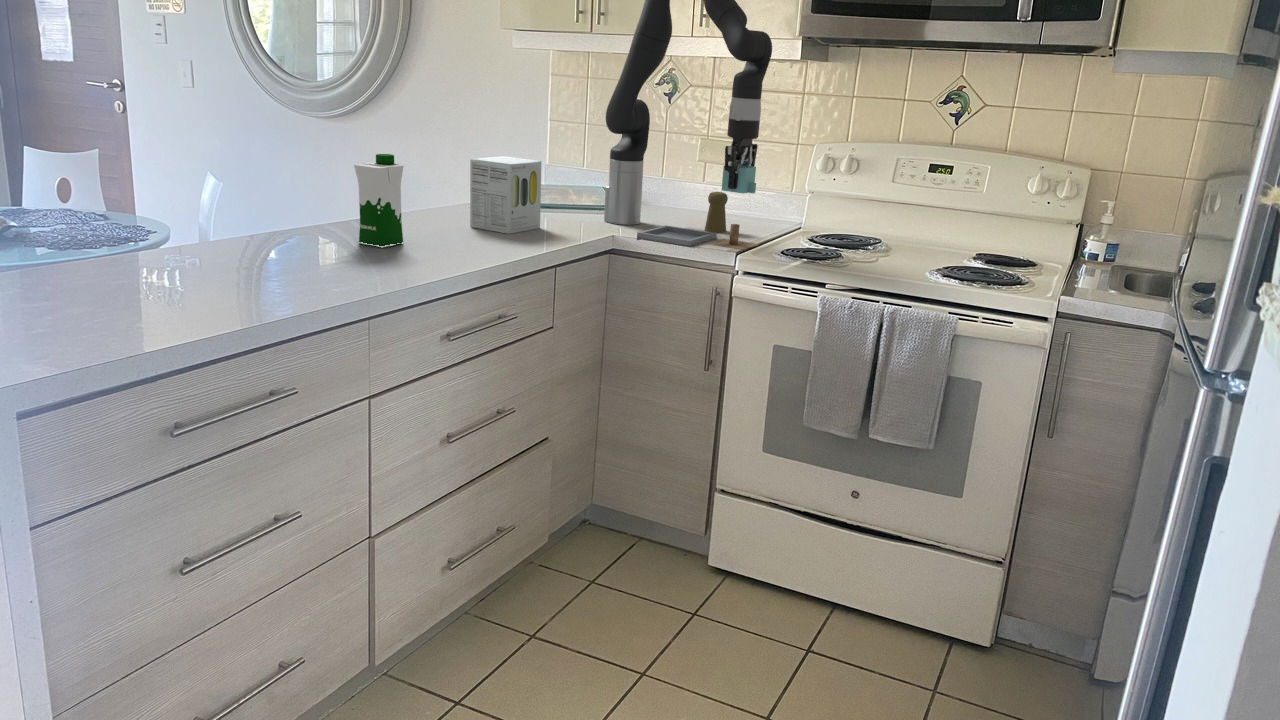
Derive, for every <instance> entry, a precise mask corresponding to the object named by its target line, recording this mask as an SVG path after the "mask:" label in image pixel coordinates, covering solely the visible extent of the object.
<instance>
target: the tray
mask: <svg viewBox="0 0 1280 720" xmlns="http://www.w3.org/2000/svg"><path fill="white" fill-rule="evenodd" d="M717 238H718V233H712V232H707V231H705V230H698V229H690V228H684V227H677V226H671V225H663V226H658V227H655V228H650V229H646V230H643V231H642V230H641V231H639V232H637V233H636V241H640V240H645V241H652V242H658V243H664V244H670V245H676V246H682V247H689V248H690V247H694V246H696V245H700V244H703V243H707V242H710V241H711V242H712V241H713V240H714V241H715V240H717Z"/></svg>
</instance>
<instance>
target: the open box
mask: <svg viewBox="0 0 1280 720" xmlns="http://www.w3.org/2000/svg"><path fill="white" fill-rule="evenodd" d="M722 169H723V170H722V179H721V180H722V182H721V192H722V191H723V192H730V193H737V194H756V190H757V189H756V188H757V183H756V172H757V166H754V167H753V166H745V165H741V166H740V168H739V172H738V183H737V189H729V188H728V179H729V173H728V171H725V165H723V168H722Z"/></svg>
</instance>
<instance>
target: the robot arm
mask: <svg viewBox="0 0 1280 720" xmlns="http://www.w3.org/2000/svg"><path fill="white" fill-rule="evenodd" d="M702 1H703V6H704V8H705V9H704V10H705V11H706V13H707V15H708V17H709V18H710V20H711V21H712V22H713V24H714V25H715V26H716V27H717V29H718V30H719V31H720V32H721V35H722V38H723V40H724V43H725V45H726V48H727V50H728V52H729V53H730V55H731V56H732V57H733V58H735V59H736V60H738V61H740V62H745V65H744V68H743V69H742V70H741V71H739V72H738V73H735V74H734V77H733V81H732V89H731V90H732V91H731V100H730V103H729V104H730V106H729V113H728V114H729V115H728V116H729V117H728V126H727V133H726V134H727V137H729V138H732V140H731V141H732V142H731V145H726V146H725V147H724V166H725V171H728V173H729V179H728V188H729V189H737V183H738V172H739V168H740V166H741V165H745V166H753V167H756V165H755V164H756V159H757V152H758V144H757V143H753V140H757V139H758V138H759V132H760V121H761V115H762V114H761V113H762V104H761V103H762V94H763V93H762V91H763V81H764V79H765V76H766V75H767V74H766V73H767V71H768V67H769V65H770V61H771V57H772V55H773V54H772V53H773V43H772V39H771V37H770V35H769V34H768V33H767V32H765V31H762V30H753V29H752V30H751V29H748V28H747V24H748V17H747V15H746V13H745V11H744V10H743V9H742V7H741V6H740V5H739V3H738V2H737V1H736V0H702ZM642 6H643V7H642V10H641V13H640V17H639V19H638V22H637V25H636V28H635V31H634V33H633V37H632V40H631V44H630V47H629V50H628V54H627V56H626V60H625V62H624V64H623V68H622V70H621V74H620V76H619V78H618V82H617V84H616V86H615V88H614V91H613V93H612V95H611V97H610V99H609V102H608V104H607V107H606V111H605V123H606V127H607V128H608V130H609V132H611V133H612V134H616V135H621V138H620V140H619V141H618V143H617V144H615V145H613V147H611V149H610V151H609V169H608V170H609V173H608V174H609V175H608V185H607V186H606V187H605V189H604V190H605V193H604V194H605V196H604V216H603V221H604V222H608V223H611V224H616V225H627V226H628V225H632V226H633V225H638V224H641V216H642V215H641V213H642V199H643V198H642V195H643V181H644V180H643V179H644V177H643V176H644V157H645V153H646V151H647V148H648V144H649V142H648V141H649V133H650V123H651V122H650V120H651V116H650V109H649V107H648V105H647V103H646V102H645V101H643V100H642V99H640V98H638V97H639V95H640V94H639V93H640V92H641V89H642V88H643V86H644V84H645V83H646V82H647V80H648V79H649V78H650V77H651V76H652V75H653V73H655V71H656V69H658V67H659V66H660V65H661V64H662V61H663V60H664V58H665V55H666V53H667V50H668V47H669V45H670V41H671V38H672V35H673V21H672V20H673V19H672V14H671V0H644V3H643V5H642Z"/></svg>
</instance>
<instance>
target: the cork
mask: <svg viewBox="0 0 1280 720" xmlns="http://www.w3.org/2000/svg"><path fill="white" fill-rule="evenodd" d="M728 199H729V197H728V194H727V193H725V192H724V191H723V192H722V191H711V192H709V194H708V198H707V201H708V203H709V207H708V212H707V216H706V221H705V225H704V231H705V232H712V233H717V234H718V233H719V234H721V233H722V234H724V233H727V221H726V220H727V219H726V205H727V203H728Z"/></svg>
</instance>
